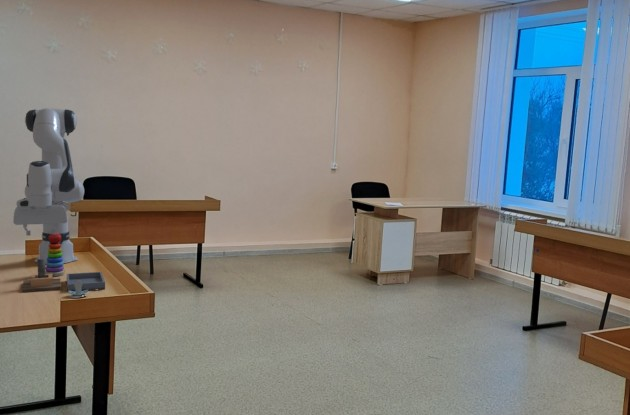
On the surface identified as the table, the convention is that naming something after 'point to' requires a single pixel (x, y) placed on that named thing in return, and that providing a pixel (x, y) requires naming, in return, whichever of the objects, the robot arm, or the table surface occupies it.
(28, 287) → the post stand
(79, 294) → the pacifier
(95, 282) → the tray
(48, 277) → the light brown flat block
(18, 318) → the table surface
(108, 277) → the table surface
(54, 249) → the stacking toy
